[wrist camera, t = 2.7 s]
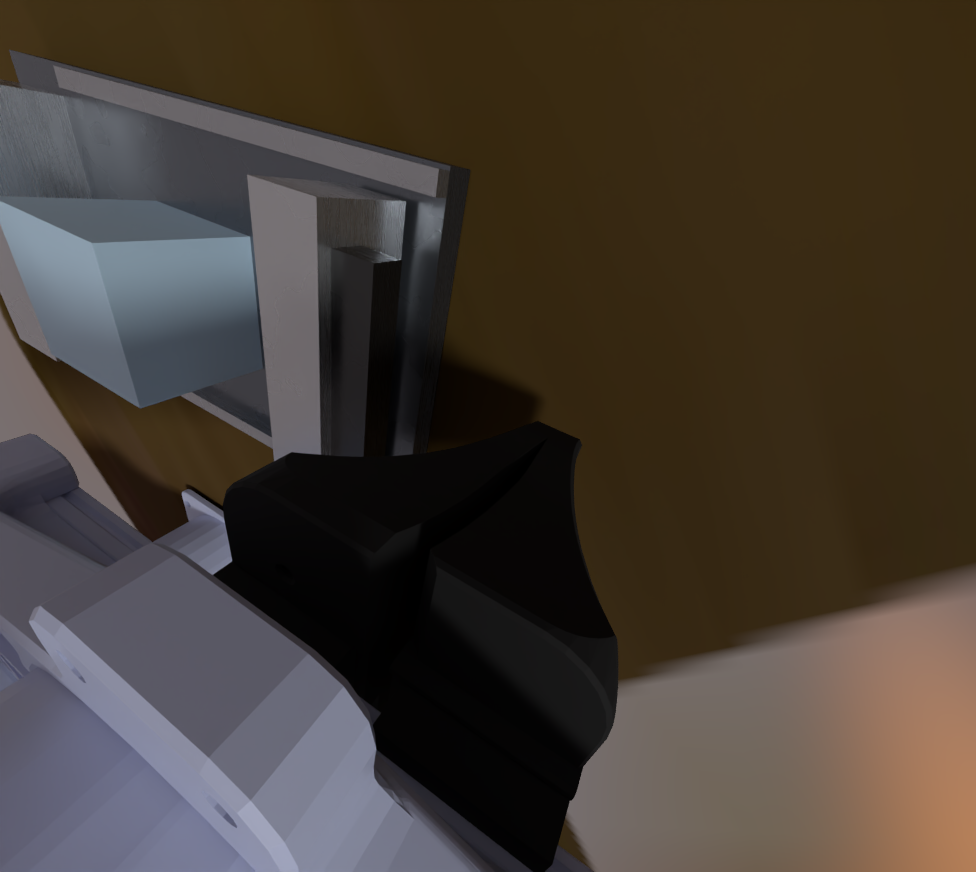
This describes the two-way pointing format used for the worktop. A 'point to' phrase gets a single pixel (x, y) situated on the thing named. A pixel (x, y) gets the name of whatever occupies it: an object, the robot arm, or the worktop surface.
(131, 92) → the vise
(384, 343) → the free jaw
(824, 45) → the worktop surface
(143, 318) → the steel block
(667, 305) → the worktop surface
